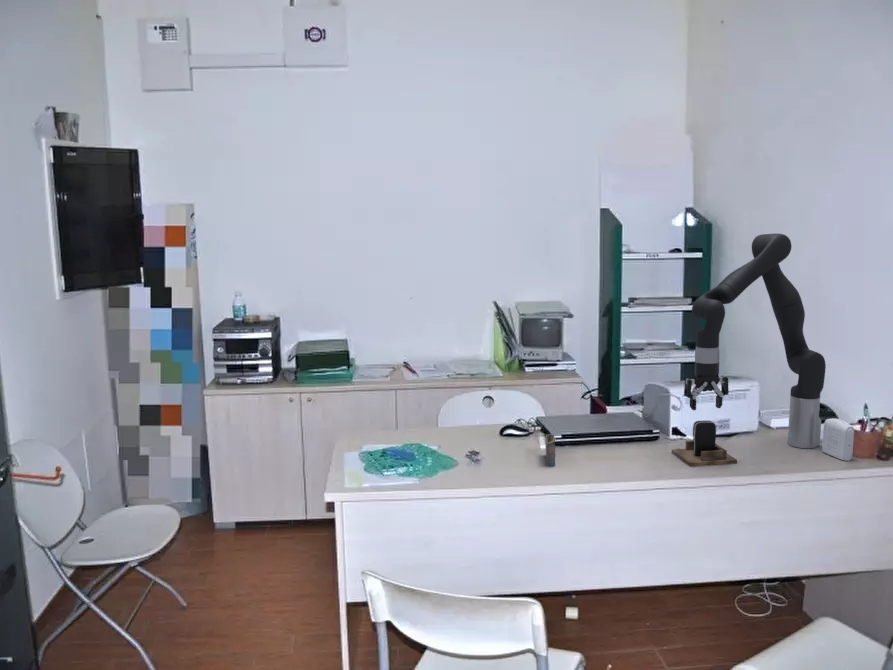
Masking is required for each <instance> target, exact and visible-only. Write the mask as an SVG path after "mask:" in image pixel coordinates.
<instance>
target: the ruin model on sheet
mask: <svg viewBox="0 0 893 670" xmlns="http://www.w3.org/2000/svg"><path fill="white" fill-rule="evenodd" d="M556 441H557V437H556V436H555V434H545V460H547V461H546V467H547V466H548V467H553V468H554V466H555V467H556V443H555V442H556Z"/></svg>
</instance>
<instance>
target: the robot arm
mask: <svg viewBox="0 0 893 670" xmlns="http://www.w3.org/2000/svg"><path fill="white" fill-rule="evenodd" d="M791 251H792V241H791V239H790V238H789V236H787V235H786V234H783V233H764V234H759V235H756V236H755V237H754V238H753V240H752V242H751V253H752V256H753V258H752V259H751V260H750V261H748V262H746V263H745V264H742V265H741V266H740V267H738V268H736V269H734V270H733V271H732V272H730V273H729V274H728V275H726V277H725V278H724V279H723V280H721V281H720V282H719V283H718V285H716V286H715V287H713V288H712V289H709V290H708V291H706V292H705V293H703V294H701V296H699V297H697V298H696V300H695V301H694V302H693V304H692V308H691V313H692V315H693V317H694V318H695V319H697V320H701V321H705V323H704V327H699V328H698V329H697V330H696V334H695V351H694V378H688V377H686V378H685V379H684V388H683V396H684V397H686V398H688V399H689V408H691V410H692V411H696V410H697V397H698V396H699V395H700V394H701V393H702V392H703V393H704V392H712V391H713V392H714V393H715V394H716V395H715V408H717V409H721V407H722V406H723V398H724V396H728V395H729V377H728V376H725V375H721V376H720V375H719V374H720V359H721V358H720V333H721V331H722V326H723V324H724V320H725V316H726V309H725V306H724V305H729V304H731V303H733V302H734V301H735V300H736V299H737V298H738V297H740V295H741V294H742V293H743V292H744V291H745V290H746V289H747V288H749V287H750V285H752V284H753V283H754V282H755V281H757V280H758V279H759V278H761V277H762V280H763V283H764V286H765V288H766V291H767V294H768V296H769V300H770V304H771V307H772V311H773V315H774V317H775V320H776V323H777V326H778V329H779V332H780V335H781V339H782V342H783V346H784V351H785V356H786V357H785V358H786V362H787V366H788V367H789V370H791V372H793V373H794V374H796V375H797V376H798V378H797V384H796V385H792V386H791V388H790V396H789V397H790V398H789V413H788V416H789V417H788V432H787V444H788V445H789V446H792V447H794V448H800V449H813V448H816V447H820V446H821V435H822V434H821V432H822V430H821V429H822V419H821V418H820V406H821V405H820V404H821V403H820V402H821V394H822V391H823V389H824V384H825V378H826V377H825V376H826V368H827V367H826V366H827V365H826V359H825V357H824V356H823V355H822V353H820V352H818V351H814V350H811V349H810V348H809V347H808V344H807V341H806V338H805V335H804V324H805V317H806V314H805V313H806V312H805V307H804V304H803V301H802V297H801V295H800V293H799V291H798V289H797V288H796V287H795V286H794V284H793V283H792V282H791V281H790V280H789V279H788V278H787V276H786V275H785V274H784V272H783V271H782V269H781V266H780V263H782V262H783V261H784V260H785V259H787V257H788V256H789V255H790V254H791ZM719 383H721V385H720V386H721V387H719V386H718V384H719ZM693 385H694V386H693ZM692 386H693V388H692Z"/></svg>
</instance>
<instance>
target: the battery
mask: <svg viewBox="0 0 893 670" xmlns="http://www.w3.org/2000/svg"><path fill="white" fill-rule="evenodd" d="M692 436H693V440H694V450H693V453H694V455H695V456H701V451H713V450H715V444H716V440H717V425H716V423H715V422H714V421H712V420H697V421H695V422H694V423H693V425H692Z"/></svg>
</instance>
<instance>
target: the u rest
mask: <svg viewBox="0 0 893 670" xmlns="http://www.w3.org/2000/svg"><path fill="white" fill-rule="evenodd" d="M684 447H685V448H676V449H675V448H674V449H673V448H672V449H671V454H672V455H674V456H675V457H676V458H677V459H679V460H681V461H682V462H683V463H685V464H686V465H687V466H689V468H693V467H706V466H718V465H720V466H721V465H732V464H734V465H735V464H738V459H736V458H735V457H733V456H732V455H730V454H729V453H728V451H727V450H726V449H725V448H723V447H722V446H720V445H719V444H717V443H715V450H713V451H701V456H695V455H694V453H693V450H694V439H693V440H691V439H690V440H685V446H684Z"/></svg>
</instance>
